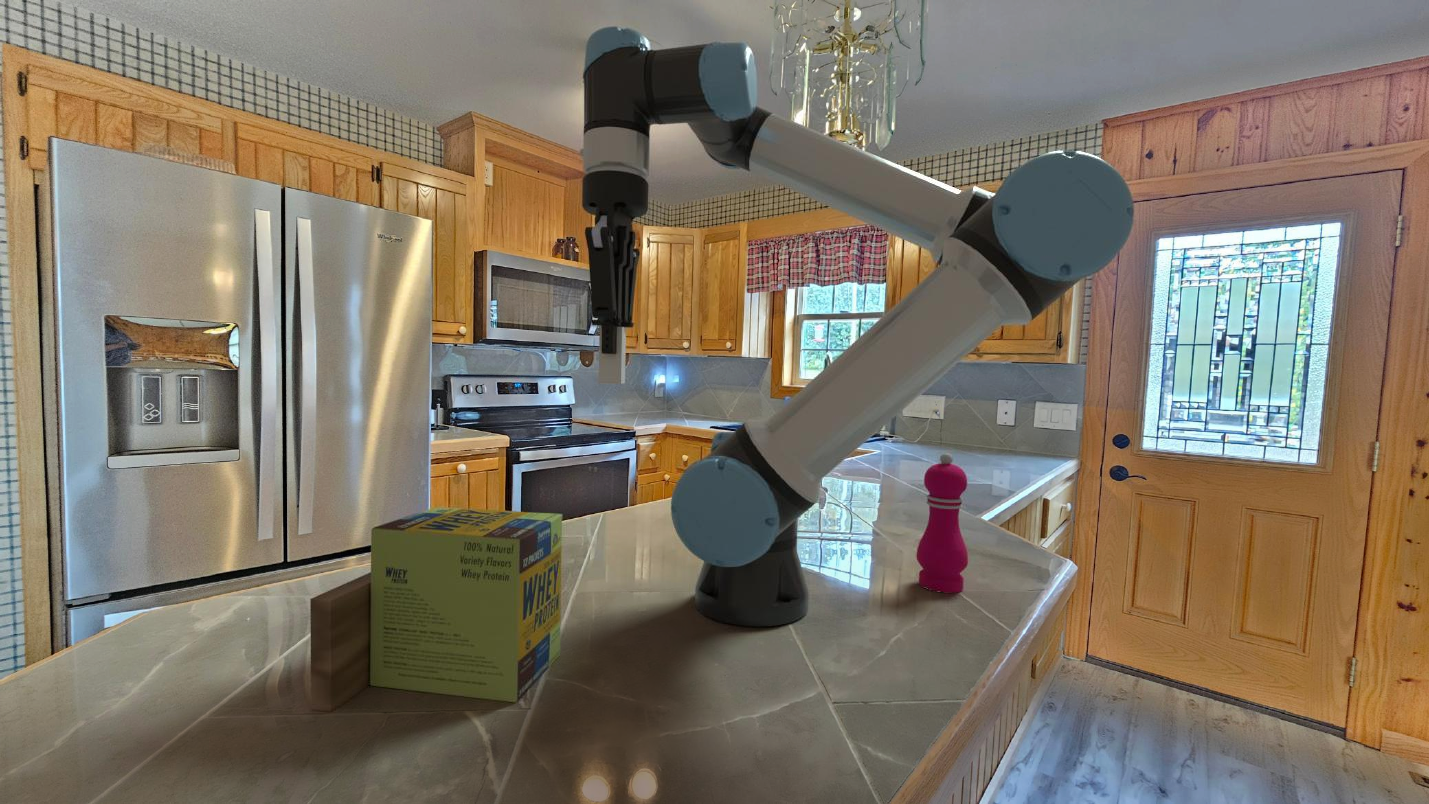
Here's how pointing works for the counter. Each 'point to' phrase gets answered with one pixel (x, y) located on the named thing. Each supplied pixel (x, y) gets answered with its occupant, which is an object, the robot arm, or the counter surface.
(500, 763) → the counter surface
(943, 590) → the pepper mill
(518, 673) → the protein box
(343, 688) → the board
